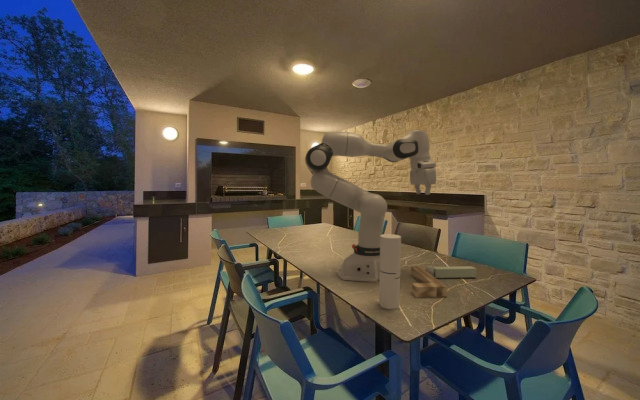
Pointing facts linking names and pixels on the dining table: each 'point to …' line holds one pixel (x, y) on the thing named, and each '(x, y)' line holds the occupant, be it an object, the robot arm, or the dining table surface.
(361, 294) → the dining table surface
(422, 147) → the robot arm
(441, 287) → the l-shaped wooden joint
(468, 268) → the folding leg
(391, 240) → the cylindrical container
